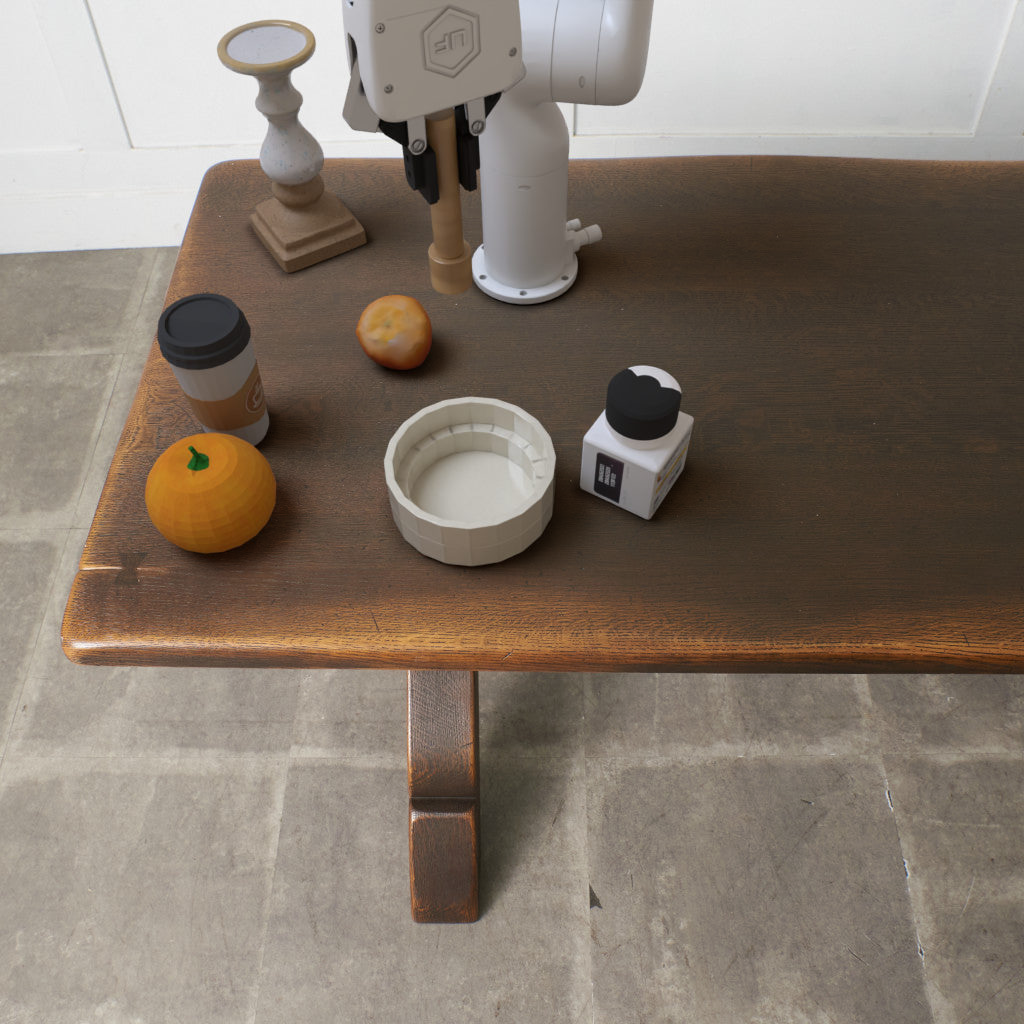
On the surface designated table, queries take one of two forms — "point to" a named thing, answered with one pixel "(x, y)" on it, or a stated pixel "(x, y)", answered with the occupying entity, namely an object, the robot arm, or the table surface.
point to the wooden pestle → (447, 210)
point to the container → (637, 441)
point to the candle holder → (289, 149)
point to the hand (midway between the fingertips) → (444, 185)
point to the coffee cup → (215, 364)
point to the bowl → (471, 480)
